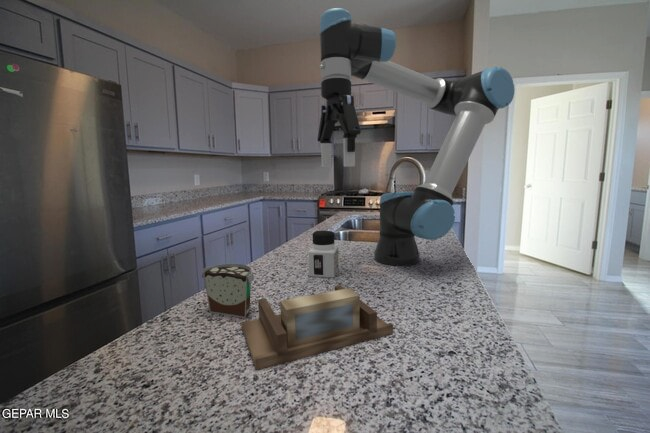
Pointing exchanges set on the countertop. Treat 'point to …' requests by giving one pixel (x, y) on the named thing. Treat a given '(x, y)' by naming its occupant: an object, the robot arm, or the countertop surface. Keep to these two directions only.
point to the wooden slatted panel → (272, 344)
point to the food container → (228, 289)
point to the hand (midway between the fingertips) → (337, 167)
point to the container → (323, 255)
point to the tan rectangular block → (320, 316)
